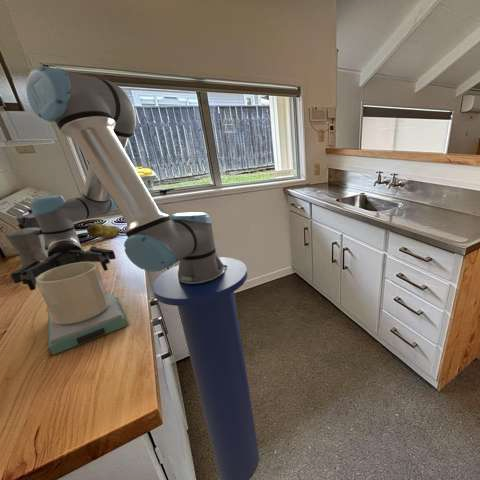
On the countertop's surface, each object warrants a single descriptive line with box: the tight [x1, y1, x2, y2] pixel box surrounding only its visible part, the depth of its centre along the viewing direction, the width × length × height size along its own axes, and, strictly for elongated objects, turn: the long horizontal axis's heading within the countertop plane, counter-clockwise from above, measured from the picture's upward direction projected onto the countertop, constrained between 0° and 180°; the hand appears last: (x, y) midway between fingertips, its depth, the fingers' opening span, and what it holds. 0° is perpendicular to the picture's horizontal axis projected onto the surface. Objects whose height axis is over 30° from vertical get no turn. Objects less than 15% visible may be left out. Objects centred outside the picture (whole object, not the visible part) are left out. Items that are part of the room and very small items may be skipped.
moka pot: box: [15, 208, 48, 251], centre depth 109 cm, size 10×15×20 cm, turn 33°
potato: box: [86, 223, 121, 239], centre depth 131 cm, size 8×13×8 cm, turn 133°
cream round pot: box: [35, 262, 110, 324], centre depth 65 cm, size 11×11×12 cm
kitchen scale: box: [47, 290, 128, 356], centre depth 67 cm, size 14×19×3 cm
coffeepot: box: [4, 223, 48, 268], centre depth 97 cm, size 15×9×18 cm, turn 94°
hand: (70, 274), depth 64 cm, fingers open, 13 cm apart
